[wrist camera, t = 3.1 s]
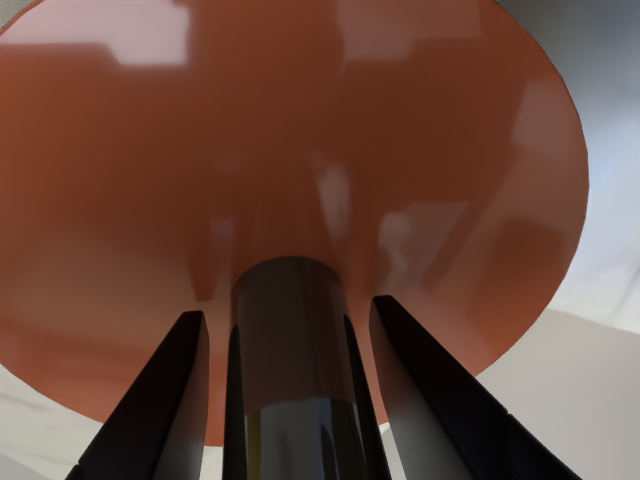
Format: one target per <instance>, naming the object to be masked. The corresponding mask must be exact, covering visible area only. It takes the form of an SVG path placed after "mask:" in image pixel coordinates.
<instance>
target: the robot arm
mask: <svg viewBox="0 0 640 480" xmlns="http://www.w3.org/2000/svg"><path fill="white" fill-rule="evenodd" d="M369 333H370V339H371V344H372V350H373V355H374V361H375V366H376V372H377V377H378V383H379V388H380V392H381V397H382V400H383V404H384V407H385V410H386V414H387V417H388V420H389V424H390V427H391V430H392V433H393V437H394V440H395V443H396V446H397V450H398V453H399V456H400V459H401V463H402V466H403V469H404V472H405V476H406V479H407V480H582V479H581V478H580V477H579V476H577V475H576V474H575V473H574V472H573V471H572V470H571V469H570V468H568V467H567V466H566V465H565V464H564V463H563V462H561V461H560V460H559V459H558V458H557V457H556V456H555V455H554V454H552V453H551V452H550V451H549V450H548V449H547V448H546V447H545V446H543V444H542V443H541V442H540V441H538V440H537V439H536V438H535V437H534V436H533V435H532V434H531V433H530V432H529V431H528V430H527V429H526V428H525V427H524V426H523V425H522V424H521V423H520V422H519V421H518V420H517V419H516V418H515V417H514V416H513V415H512V414H508V411H507V409H506V408H505V407H503V405H502V404H500V403H499V401H498V400H497V399H495V397H493V395H492V394H490V393H489V392H488V391H487V390H486V389H485V388H484V387H483V386H482V385H481V384H480V383H479V382H478V381H477V380H476V379H475V378H474V377H473V376H472V375H471V374H470V373H469V372H468V371H467V370H466V369H465V368H464V367H463V366H462V365H461V364H460V363H459V362H458V361H457V360H456V359H455V358H454V357H453V356H452V355H451V354H450V353H449V352H448V351H447V350H446V349H445V348H444V347H443V346H442V345H441V344H440V343H439V342H438V341H437V340H436V339H435V338H434V337H433V336H432V335H431V334H430V333H429V332H428V331H427V330H426V329H425V328H424V327H423V326H422V325H421V324H420V323H419V322H418V321H417V320H416V319H415V318H414V317H413V316H412V315H411V314H410V313H409V312H408V311H407V310H406V309H405V308H404V307H403V306H402V305H401V304H400V303H399V302H398V301H397V300H396V299H395V298H394V297H393V296H391V295H378V296H374V297H373V298H372V300H371V307H370V314H369ZM209 356H210V341H209V333H208V329H207V324H206V319H205V315H204V312H203V311H201V310H194V311H185V312H183V313H182V314H181V315H180V316H179V318H178V319H177V321H176V322H175V323H174V325H173V326H172V328H171V329H170V331H169V332H168V333H167V335H166V336H165V338H164V339H163V341H162V342H161V343H160V345H159V346H158V348H157V349H156V351H155V352H154V353H153V355H152V356H151V358H150V359H149V361H148V362H147V363H146V365H145V366H144V368H143V369H142V370H141V372H140V373H139V375H138V376H137V378H136V379H135V380H134V382H133V383H132V385H131V386H130V388H129V389H128V390H127V392H126V393H125V395H124V396H123V398H122V399H121V400H120V402H119V403H118V405H117V406H116V408H115V409H114V410H113V412H112V413H111V415H110V416H109V418H108V419H107V420H106V422H105V423H104V425H103V426H102V428H101V429H100V430H99V432H98V433H97V435H96V436H95V437H94V439H93V440H92V442H91V443H90V445H89V446H88V447H87V449H86V450H85V452H84V453H83V455H82V456H81V457H80V459H79V460H78V463H79V465H78V464H77V465H75V466H74V467H73V468H72V470H71V471H70V473H69V474H68V476H67V477H66V479H65V480H199V478H200V470H201V463H202V456H203V449H204V442H205V435H206V427H207V419H208V406H209Z"/></svg>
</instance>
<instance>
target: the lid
mask: <svg viewBox="0 0 640 480" xmlns="http://www.w3.org/2000/svg"><path fill="white" fill-rule="evenodd" d="M588 194H589V170H588V151H587V147H586V143H585V139H584V135H583V130H582V126H581V122H580V118H579V114H578V112H577V109H576V107H575V105H574V103H573V100H572V98H571V96H570V94H569V91H568V89H567V87H566V85H565V82H564V80H563V78H562V76H561V75H560V73H559V72H558V71H557V69H556V68H555V66H554V65H553V63H552V62H551V60H550V59H549V58H548V56H547V55H546V53H545V52H544V50H543V49H542V47H541V46H540V45H539V43H538V42H537V41H536V40H535V39H534V38H533V37H532V36H531V35H530V34H529V33H528V32H527V31H526V30H525V29H524V28H523V27H522V26H521V25H520V24H519V23H518V22H517V21H516V20H515V19H514V18H513V17H512V16H511V15H510V14H509V13H508V12H507V11H506V10H505V9H504V8H503V7H502V6H500V5H499V4H497V3H496V2H495V1H493V0H35V1H33V2H32V3H30V4H28V5H27V6H25V7H24V8H22V9H21V10H20V11H19V12H18V13H17V14H16V15H15V16H14V17H13V18H12V19H11V20H9V21H8V22H7V23H6V24H5V25H4V26H3V27H2V28H1V29H0V364H1V365H3V366H4V367H5V368H6V369H7V370H8V371H9V372H10V373H12V374H13V375H15V376H16V377H17V378H19V379H20V380H22V381H23V382H24V383H26V384H27V385H29V386H30V387H31V388H33V389H34V390H36V391H37V392H39V393H41V394H42V395H44V396H46V397H48V398H49V399H51V400H53V401H55V402H57V403H58V404H60V405H62V406H64V407H66V408H68V409H70V410H72V411H75V412H77V413H79V414H81V415H83V416H86V417H88V418H90V419H92V420H95V421H98V422H101V423H105V422H106V420H107V419H108V418H109V416H110V415H111V413H112V412H113V410H114V409H115V408H116V406H117V405H118V403H119V402H120V400H121V399H122V398H123V396H124V395H125V393H126V392H127V390H128V389H129V388H130V386H131V385H132V383H133V382H134V380H135V379H136V378H137V376H138V375H139V373H140V372H141V370H142V369H143V368H144V366H145V365H146V363H147V362H148V361H149V359H150V358H151V356H152V355H153V353H154V352H155V351H156V349H157V348H158V346H159V345H160V343H161V342H162V341H163V339H164V338H165V336H166V335H167V333H168V332H169V331H170V329H171V328H172V326H173V325H174V323H175V322H176V321H177V319H178V318H179V316H180V315H181V314H182V313H183V312H185V311H194V310H201V311H203V312H204V315H205V319H206V324H207V329H208V333H209V341H210V356H209V406H208V419H207V427H206V435H205V442H204V446H217V447H223V454H222V476H221V480H392V478H391V474H390V470H389V466H388V462H387V458H386V454H385V450H384V446H383V442H382V438H381V434H380V430H379V426H378V425H380V424H383V423H386V422H389V420H388V417H387V414H386V410H385V407H384V404H383V400H382V397H381V392H380V388H379V383H378V377H377V372H376V366H375V361H374V355H373V350H372V344H371V339H370V333H369V314H370V307H371V300H372V298H373V297H374V296H378V295H391V296H393V297H394V298H395V299H396V300H397V301H398V302H399V303H400V304H401V305H402V306H403V307H404V308H405V309H406V310H407V311H408V312H409V313H410V314H411V315H412V316H413V317H414V318H415V319H416V320H417V321H418V322H419V323H420V324H421V325H422V326H423V327H424V328H425V329H426V330H427V331H428V332H429V333H430V334H431V335H432V336H433V337H434V338H435V339H436V340H437V341H438V342H439V343H440V344H441V345H442V346H443V347H444V348H445V349H446V350H447V351H448V352H449V353H450V354H451V355H452V356H453V357H454V358H455V359H456V360H457V361H458V362H459V363H460V364H461V365H462V366H463V367H464V368H465V369H466V370H467V371H468V372H469V373H470V374H471V375H472V376H473V377H475V376H477V375H478V374H479V373H481V372H482V371H484V370H485V369H486V368H488V367H489V366H490V365H491V364H493V363H494V362H495V361H496V360H498V358H500V357H501V356H502V355H503V354H504V353H505V352H507V351H508V350H509V349H510V348H511V347H512V346H513V345H514V344H515V343H516V342H517V341H518V340H519V339H520V338H521V337H522V336H523V334H525V332H526V331H527V330H528V329H529V328H530V327H531V326H532V325H533V324H534V323H535V321H536V320H537V319H538V317H539V316H540V315H541V313H542V312H543V311H544V309H545V308H546V307H547V305H548V304H549V303H550V301H551V300H552V298H553V296H554V295H555V293H556V291H557V290H558V288H559V286H560V285H561V283H562V281H563V279H564V278H565V276H566V274H567V271H568V269H569V267H570V264H571V262H572V260H573V258H574V255H575V253H576V251H577V248H578V244H579V241H580V237H581V234H582V230H583V226H584V223H585V219H586V211H587V202H588Z"/></svg>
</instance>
